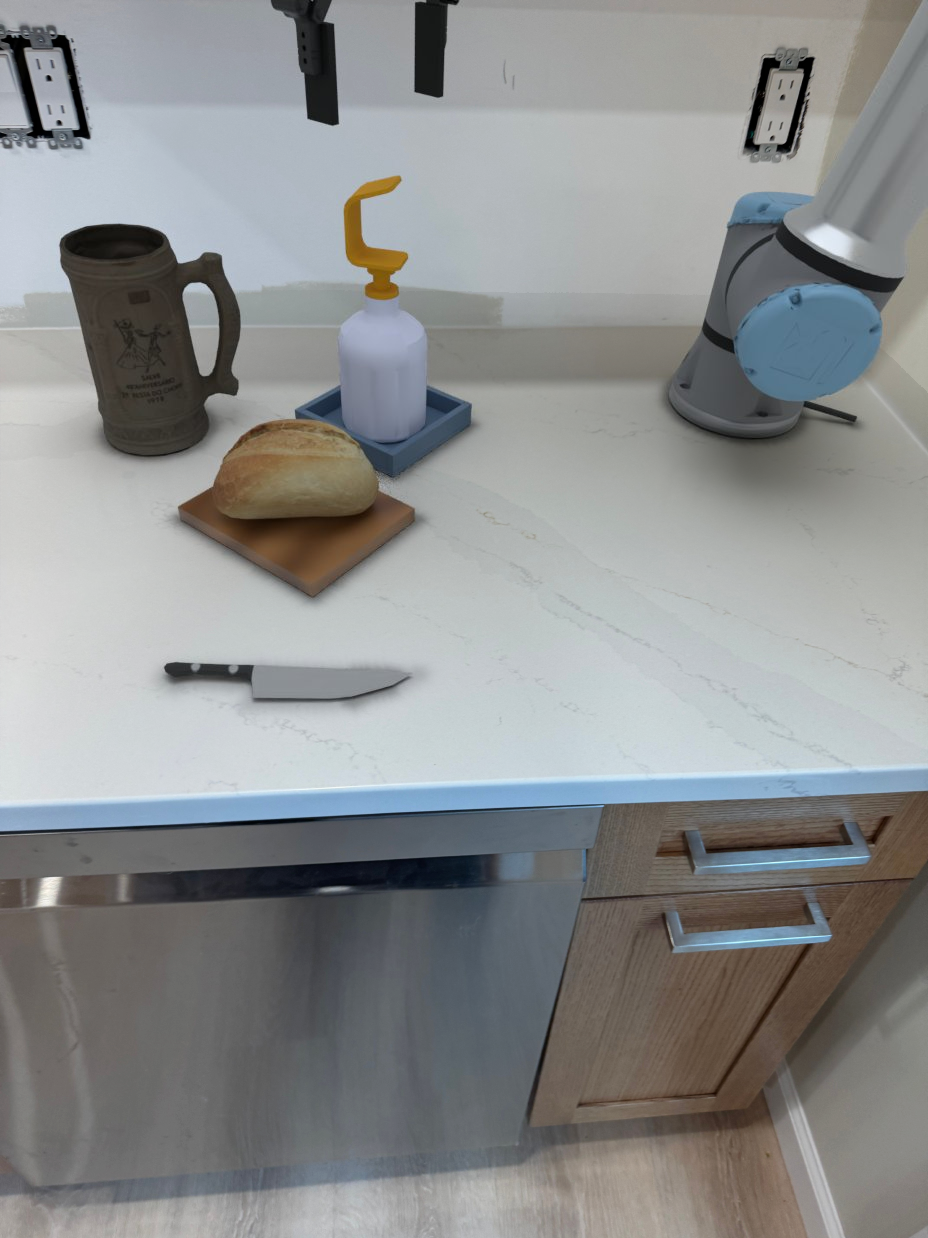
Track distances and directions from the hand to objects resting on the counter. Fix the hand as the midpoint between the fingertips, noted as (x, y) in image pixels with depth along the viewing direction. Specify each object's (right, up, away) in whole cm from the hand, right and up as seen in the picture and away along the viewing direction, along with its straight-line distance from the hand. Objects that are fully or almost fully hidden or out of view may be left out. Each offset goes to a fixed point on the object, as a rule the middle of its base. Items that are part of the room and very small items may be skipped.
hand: (379, 107), depth 69 cm
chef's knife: (-6, -48, -6) cm, 49 cm away
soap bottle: (-2, -22, +21) cm, 30 cm away
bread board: (-9, -34, +9) cm, 36 cm away
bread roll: (-8, -33, +8) cm, 35 cm away
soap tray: (-2, -22, +21) cm, 31 cm away
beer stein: (-24, -22, +20) cm, 38 cm away
